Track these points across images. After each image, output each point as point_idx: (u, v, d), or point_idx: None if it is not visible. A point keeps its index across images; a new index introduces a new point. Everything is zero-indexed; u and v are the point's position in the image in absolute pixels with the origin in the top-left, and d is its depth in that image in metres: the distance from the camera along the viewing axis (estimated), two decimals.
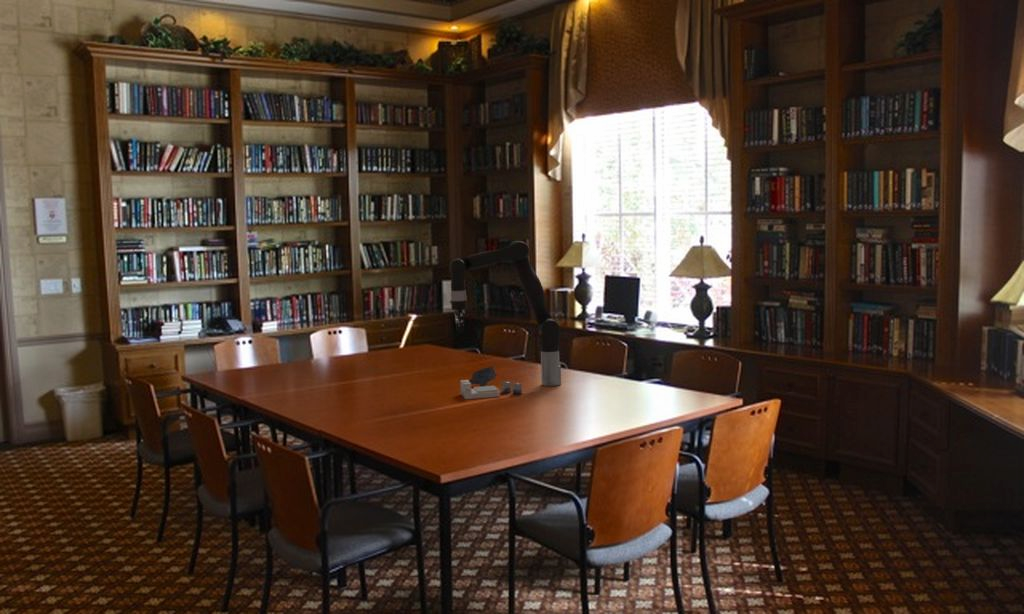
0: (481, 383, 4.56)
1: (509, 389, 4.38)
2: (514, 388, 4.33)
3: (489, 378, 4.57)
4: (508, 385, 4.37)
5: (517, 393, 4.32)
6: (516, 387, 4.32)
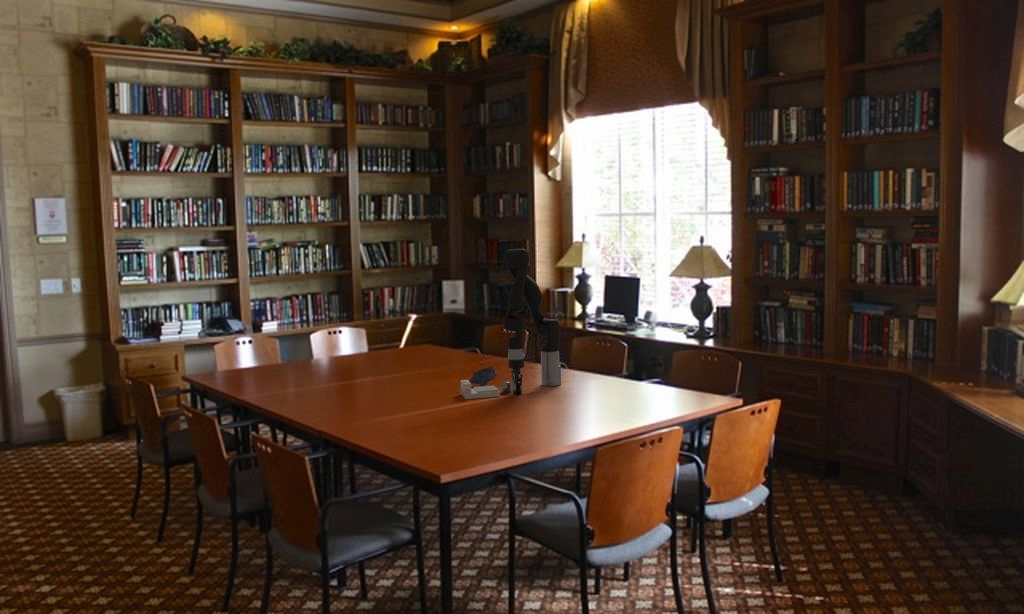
0: (481, 383, 4.56)
1: (509, 389, 4.38)
2: (514, 388, 4.33)
3: (489, 378, 4.57)
4: (508, 385, 4.37)
5: None
6: None
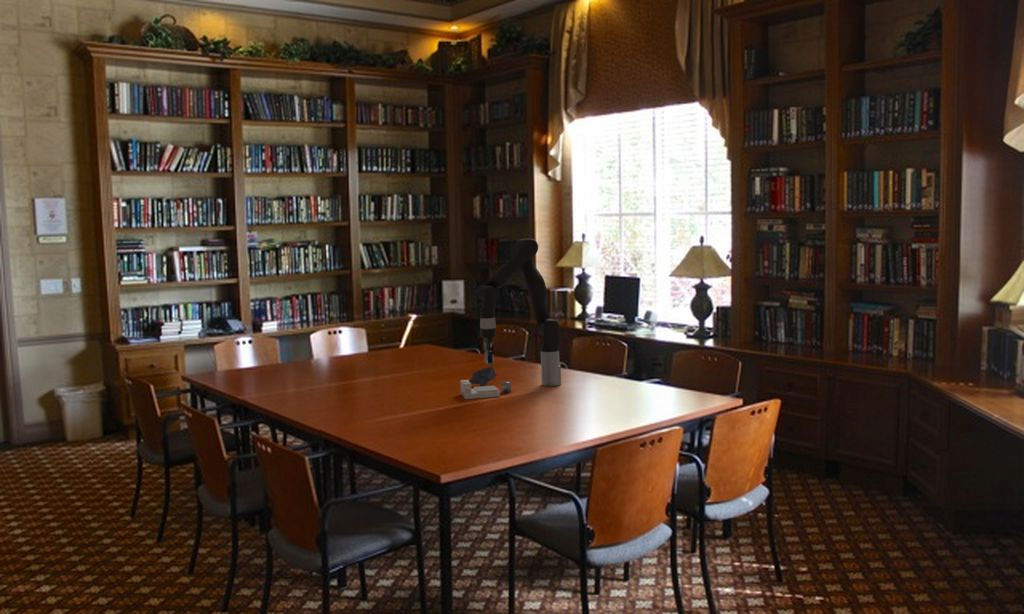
0: (481, 383, 4.56)
1: (509, 389, 4.38)
2: (486, 357, 4.35)
3: (489, 378, 4.57)
4: (508, 385, 4.37)
5: None
6: None
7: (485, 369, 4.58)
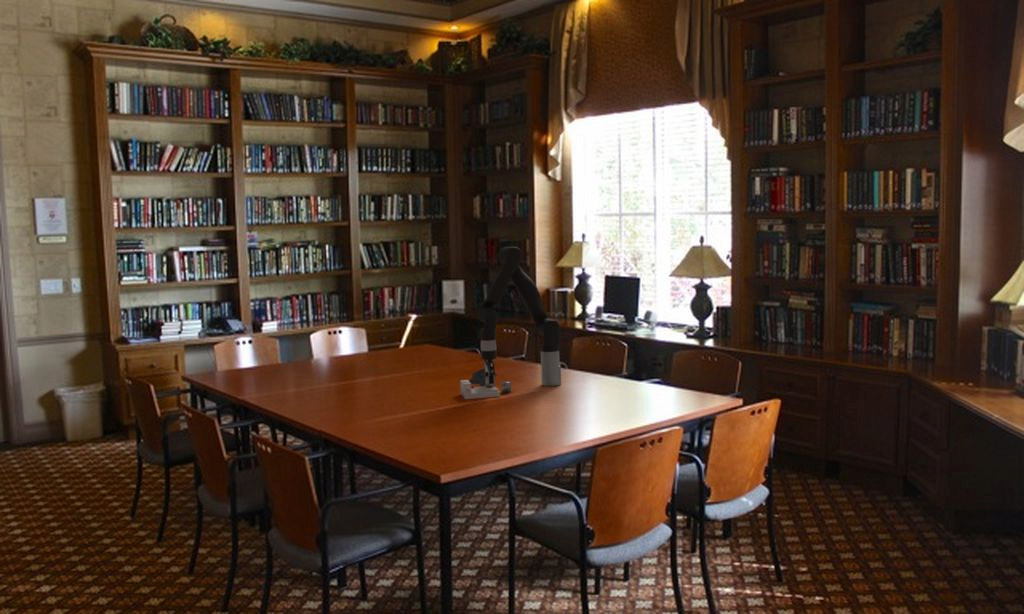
0: (481, 383, 4.56)
1: (509, 389, 4.38)
2: (487, 381, 4.36)
3: None
4: (508, 385, 4.37)
5: (490, 386, 4.36)
6: None
7: None
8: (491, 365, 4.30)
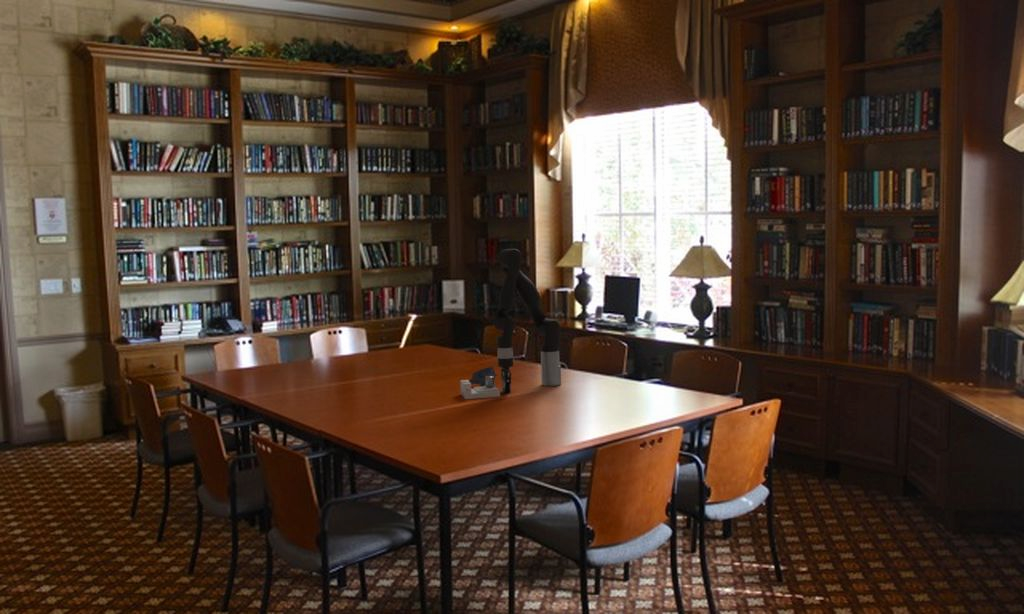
0: (481, 383, 4.56)
1: None
2: (487, 381, 4.36)
3: None
4: None
5: (490, 386, 4.36)
6: (489, 380, 4.36)
7: (485, 369, 4.58)
8: (508, 375, 4.32)
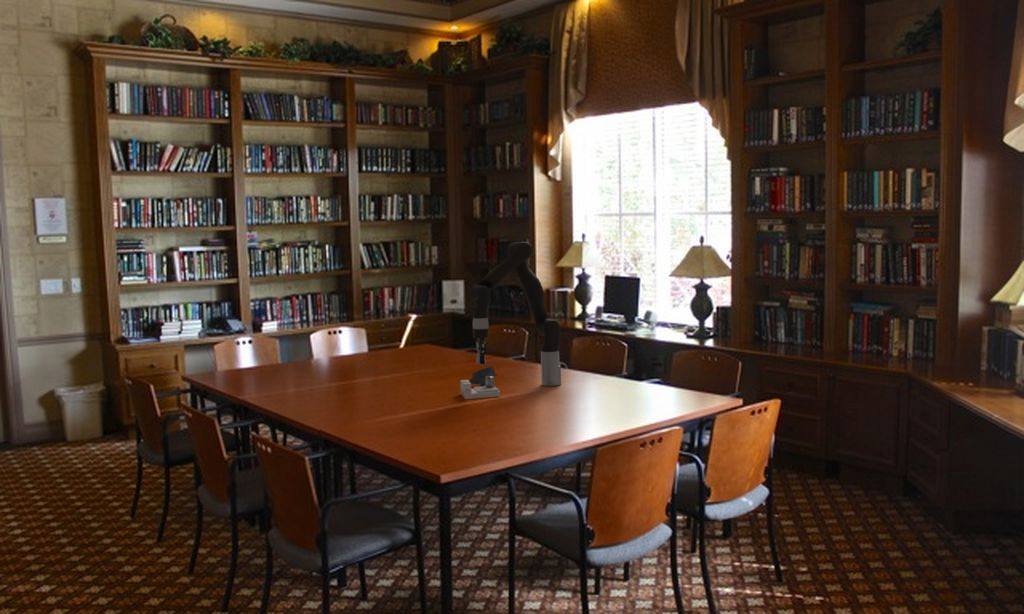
0: (481, 383, 4.56)
1: None
2: (487, 381, 4.36)
3: None
4: None
5: (490, 386, 4.36)
6: (489, 380, 4.36)
7: (485, 369, 4.58)
8: (482, 346, 4.23)
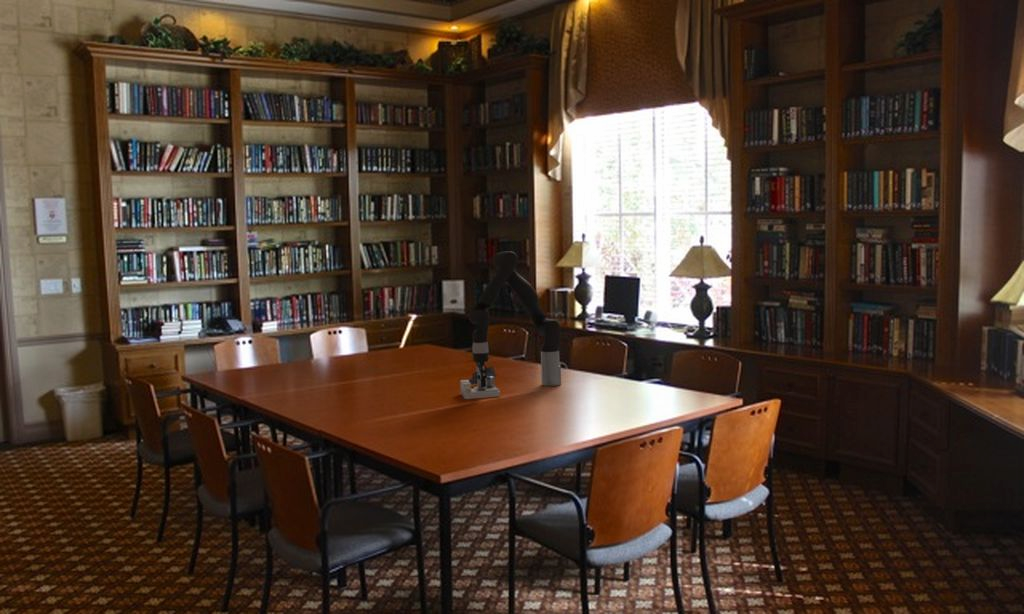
0: None
1: None
2: (487, 381, 4.36)
3: None
4: None
5: (490, 386, 4.36)
6: (489, 380, 4.36)
7: None
8: (483, 368, 4.24)
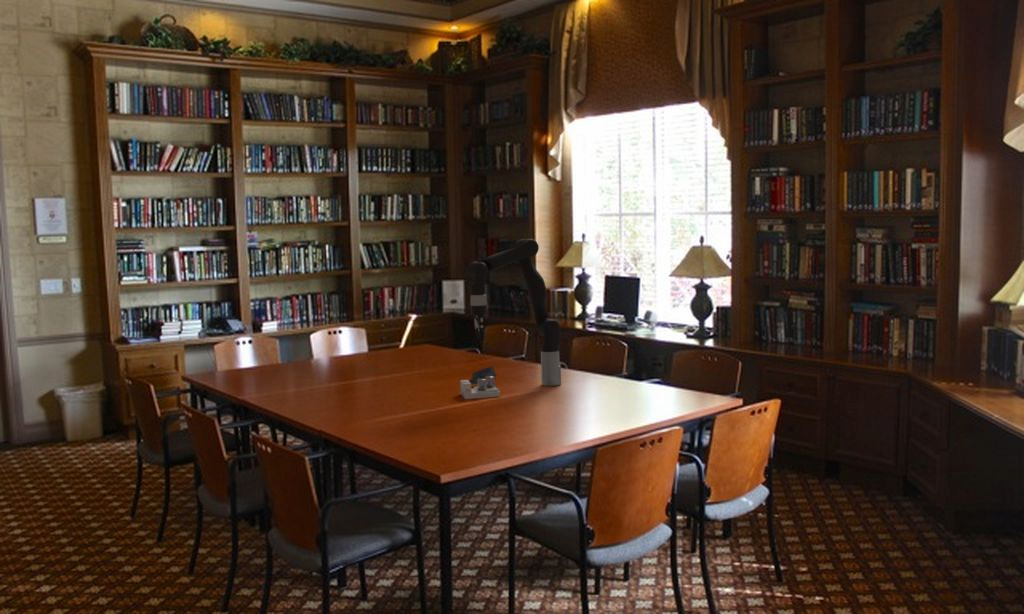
0: None
1: (484, 386, 4.30)
2: (487, 381, 4.36)
3: None
4: (483, 382, 4.29)
5: (490, 386, 4.36)
6: (489, 380, 4.36)
7: (485, 369, 4.58)
8: (481, 320, 4.21)
